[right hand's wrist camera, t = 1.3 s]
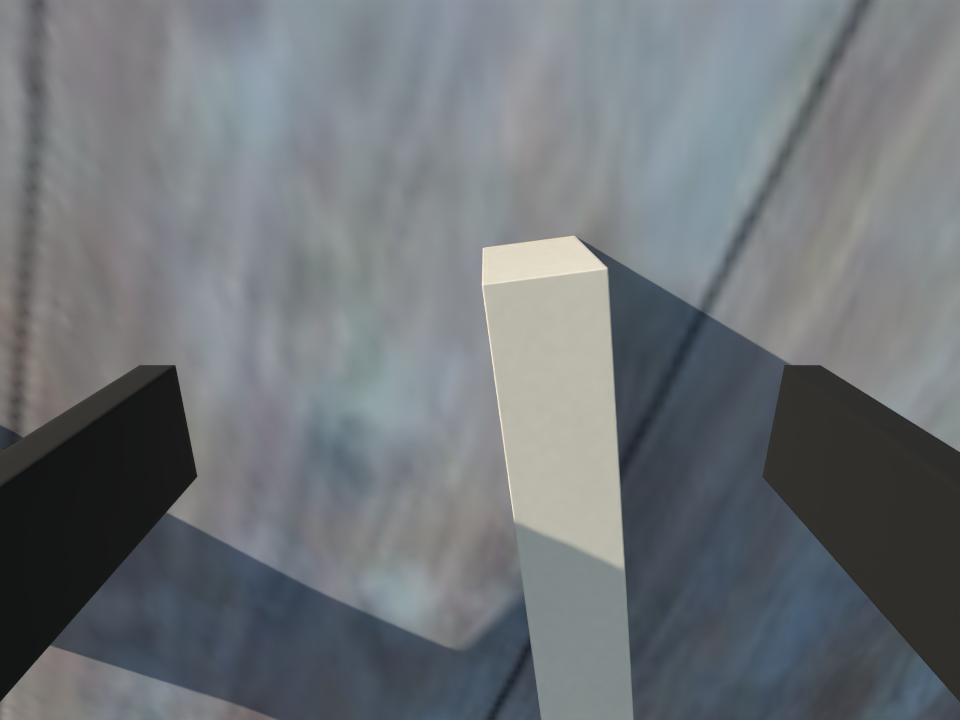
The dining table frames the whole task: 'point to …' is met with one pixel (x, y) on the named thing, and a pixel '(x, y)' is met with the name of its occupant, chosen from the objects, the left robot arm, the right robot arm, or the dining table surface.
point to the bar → (563, 469)
